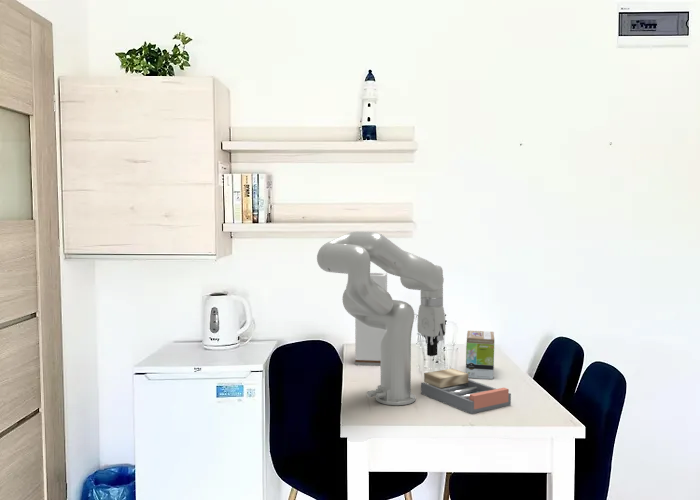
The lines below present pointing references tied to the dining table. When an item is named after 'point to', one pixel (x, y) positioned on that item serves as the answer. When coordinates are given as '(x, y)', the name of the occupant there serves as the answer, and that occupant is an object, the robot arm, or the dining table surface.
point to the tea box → (480, 354)
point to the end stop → (490, 397)
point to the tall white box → (369, 334)
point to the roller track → (458, 400)
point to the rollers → (462, 390)
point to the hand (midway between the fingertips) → (432, 355)
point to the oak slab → (446, 378)
